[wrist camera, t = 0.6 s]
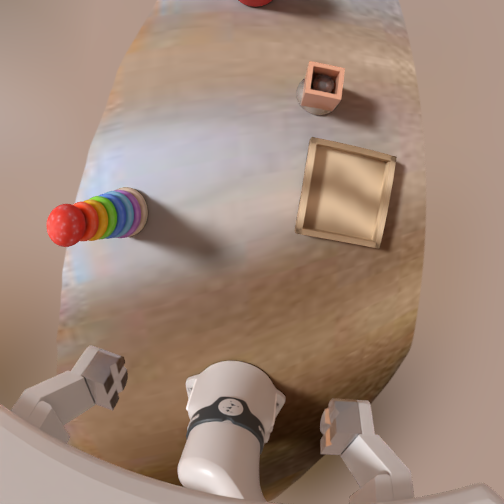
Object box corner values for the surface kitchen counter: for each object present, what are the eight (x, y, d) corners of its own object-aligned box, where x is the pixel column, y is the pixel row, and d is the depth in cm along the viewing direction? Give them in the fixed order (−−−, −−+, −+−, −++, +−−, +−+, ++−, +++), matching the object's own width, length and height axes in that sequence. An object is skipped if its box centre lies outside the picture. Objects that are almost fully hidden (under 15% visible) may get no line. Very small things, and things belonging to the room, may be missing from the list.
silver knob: (336, 119, 41) (344, 110, 35) (293, 110, 41) (296, 100, 36) (341, 81, 40) (349, 68, 34) (299, 72, 40) (302, 58, 34)
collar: (332, 111, 40) (341, 99, 34) (301, 105, 41) (304, 92, 34) (335, 83, 39) (344, 68, 32) (305, 77, 39) (309, 61, 33)
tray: (373, 244, 45) (379, 248, 42) (294, 229, 45) (295, 233, 43) (389, 158, 42) (396, 156, 39) (309, 139, 42) (311, 137, 39)
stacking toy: (152, 189, 46) (83, 199, 28) (147, 239, 48) (81, 272, 30) (110, 184, 46) (34, 192, 28) (106, 231, 48) (34, 258, 30)
